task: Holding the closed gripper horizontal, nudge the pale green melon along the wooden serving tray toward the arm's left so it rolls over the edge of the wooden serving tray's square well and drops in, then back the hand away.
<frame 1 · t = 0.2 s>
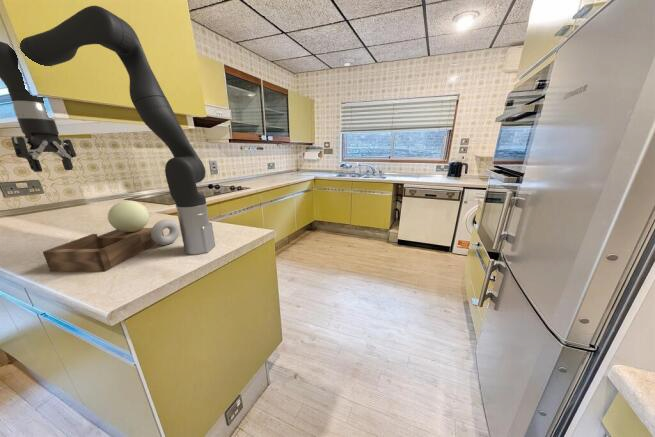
hand: (54, 170, 76), 29 cm above the countertop, tool pointing down, fingers open, 8 cm apart
melon: (129, 216, 87), point 11 cm above the countertop, touching wooden serving tray
wooden serving tray: (116, 252, 82), on the countertop
donut: (168, 244, 89), on the countertop
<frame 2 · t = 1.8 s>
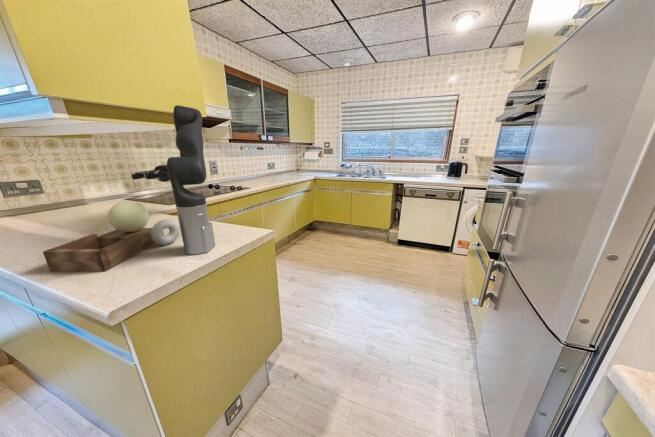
hand: (140, 176, 92), 25 cm above the countertop, tool horizontal, fingers open, 5 cm apart
nothing on the countertop moved.
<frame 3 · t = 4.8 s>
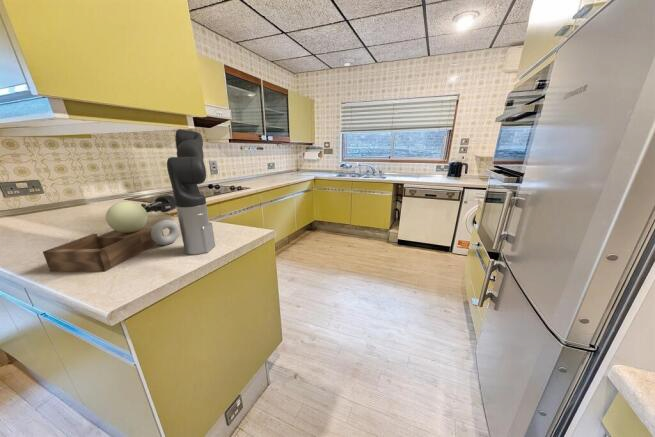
hand: (140, 211, 92), 11 cm above the countertop, tool horizontal, fingers closed
melon: (127, 217, 86), point 11 cm above the countertop, tilted 8°, touching wooden serving tray
everything else where it was.
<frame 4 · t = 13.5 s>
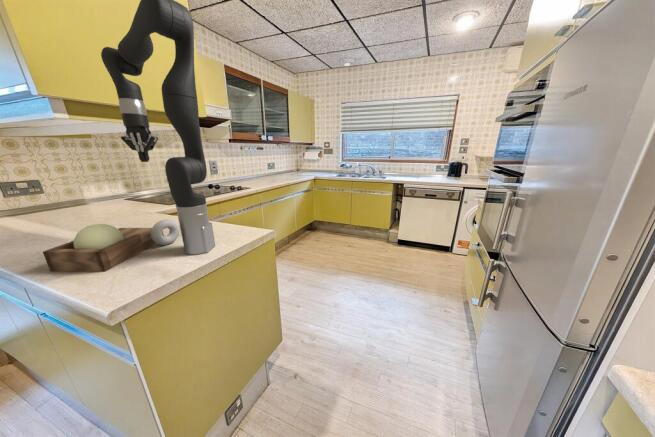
hand: (145, 161, 89), 31 cm above the countertop, tool pointing down, fingers closed
melon: (100, 241, 76), point 6 cm above the countertop, tilted 178°
everything else where it was.
at the end: melon 0.7 cm from the target spot on the wooden serving tray, point 6.0 cm above the wooden serving tray's base; melon point 6.0 cm above the countertop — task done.
